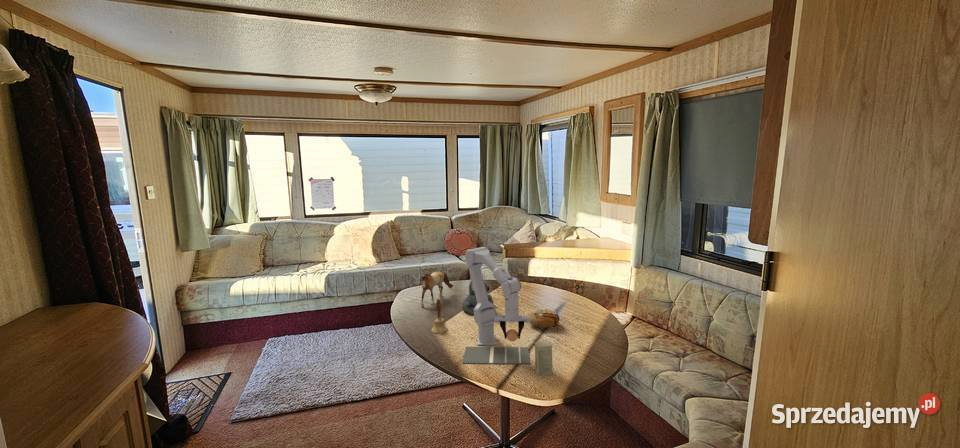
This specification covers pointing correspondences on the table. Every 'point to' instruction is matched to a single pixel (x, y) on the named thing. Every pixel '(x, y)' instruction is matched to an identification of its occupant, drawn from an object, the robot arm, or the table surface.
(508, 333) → the ball
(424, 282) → the horse figurine
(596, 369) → the table surface
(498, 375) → the table surface
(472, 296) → the koala plush
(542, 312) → the nautilus
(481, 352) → the lane mat
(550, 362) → the skincare box
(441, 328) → the hand bell
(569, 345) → the table surface
